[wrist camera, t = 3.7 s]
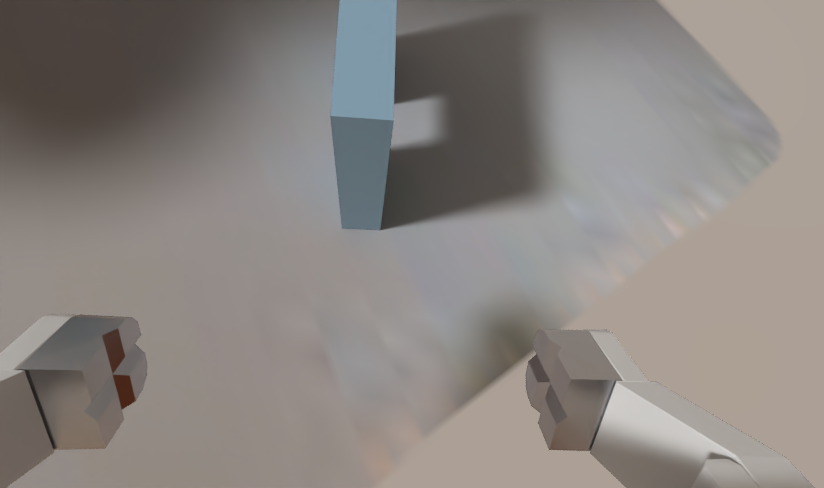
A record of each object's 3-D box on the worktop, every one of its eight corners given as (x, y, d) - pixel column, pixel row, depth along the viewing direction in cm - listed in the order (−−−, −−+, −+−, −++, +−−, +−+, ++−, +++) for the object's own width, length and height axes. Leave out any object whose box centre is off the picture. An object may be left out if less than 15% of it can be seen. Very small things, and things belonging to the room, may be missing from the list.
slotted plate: (380, 229, 24) (393, 120, 15) (342, 228, 24) (330, 115, 14) (386, 46, 28) (400, -133, 18) (353, 43, 28) (350, -140, 18)
